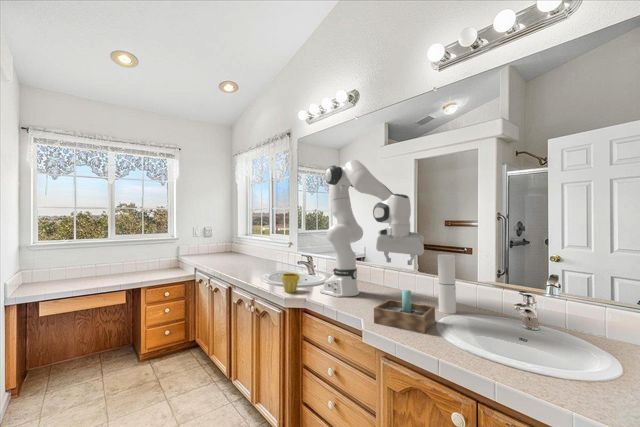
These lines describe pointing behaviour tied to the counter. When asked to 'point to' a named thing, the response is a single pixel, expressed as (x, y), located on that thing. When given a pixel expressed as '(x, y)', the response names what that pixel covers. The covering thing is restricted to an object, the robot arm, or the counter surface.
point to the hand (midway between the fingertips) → (399, 263)
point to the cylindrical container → (446, 284)
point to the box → (405, 316)
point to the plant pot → (290, 282)
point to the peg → (406, 301)
